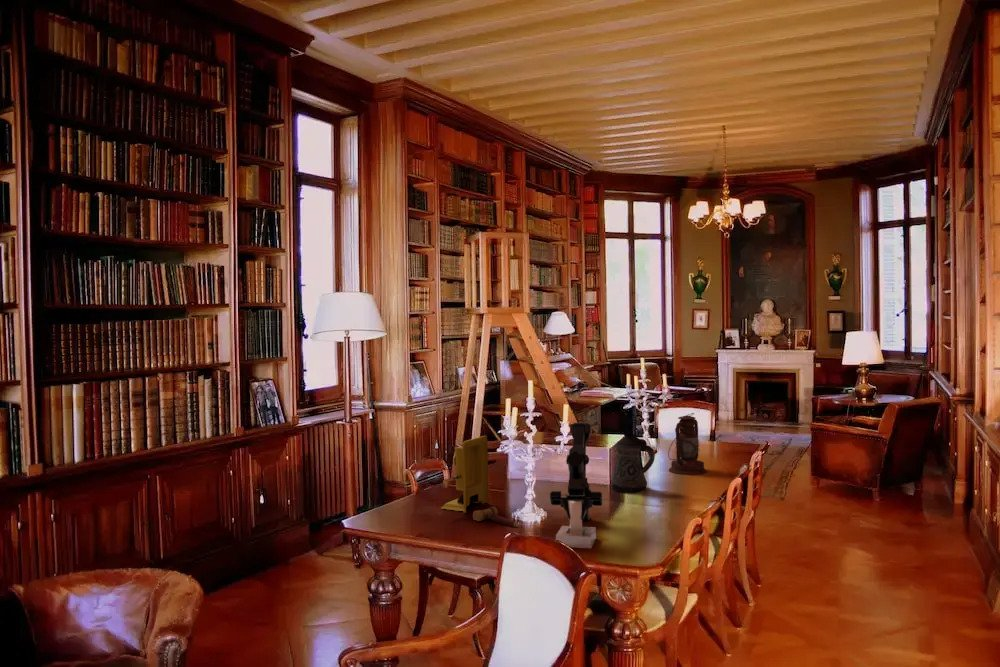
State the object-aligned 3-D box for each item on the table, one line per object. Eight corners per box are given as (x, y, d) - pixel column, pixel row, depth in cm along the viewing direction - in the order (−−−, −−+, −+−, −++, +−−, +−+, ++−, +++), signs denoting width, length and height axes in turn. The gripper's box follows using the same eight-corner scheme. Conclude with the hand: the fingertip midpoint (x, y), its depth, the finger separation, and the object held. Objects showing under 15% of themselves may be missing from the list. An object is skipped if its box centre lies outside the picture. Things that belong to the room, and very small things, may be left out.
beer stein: (608, 485, 369) (607, 432, 368) (648, 484, 370) (647, 431, 369) (614, 493, 353) (613, 438, 352) (657, 492, 353) (656, 437, 353)
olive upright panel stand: (471, 496, 353) (470, 430, 352) (498, 500, 346) (496, 432, 345) (431, 513, 326) (429, 441, 325) (458, 517, 319) (456, 443, 318)
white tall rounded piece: (574, 533, 283) (573, 499, 283) (584, 535, 281) (584, 501, 280) (567, 536, 280) (566, 502, 280) (578, 538, 277) (577, 503, 277)
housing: (562, 536, 288) (562, 525, 288) (595, 538, 285) (595, 527, 285) (556, 546, 276) (555, 535, 276) (591, 548, 273) (590, 537, 273)
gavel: (527, 517, 304) (508, 522, 298) (526, 529, 305) (508, 534, 298) (490, 505, 320) (472, 509, 313) (490, 516, 320) (472, 521, 313)
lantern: (684, 465, 411) (683, 409, 410) (714, 471, 396) (713, 412, 396) (661, 471, 399) (660, 412, 398) (691, 476, 384) (690, 416, 384)
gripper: (549, 469, 285) (547, 506, 274) (601, 469, 282) (601, 507, 272) (552, 485, 293) (550, 522, 282) (602, 486, 290) (602, 523, 280)
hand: (575, 519), depth 279 cm, fingers closed on white tall rounded piece, 4 cm apart
